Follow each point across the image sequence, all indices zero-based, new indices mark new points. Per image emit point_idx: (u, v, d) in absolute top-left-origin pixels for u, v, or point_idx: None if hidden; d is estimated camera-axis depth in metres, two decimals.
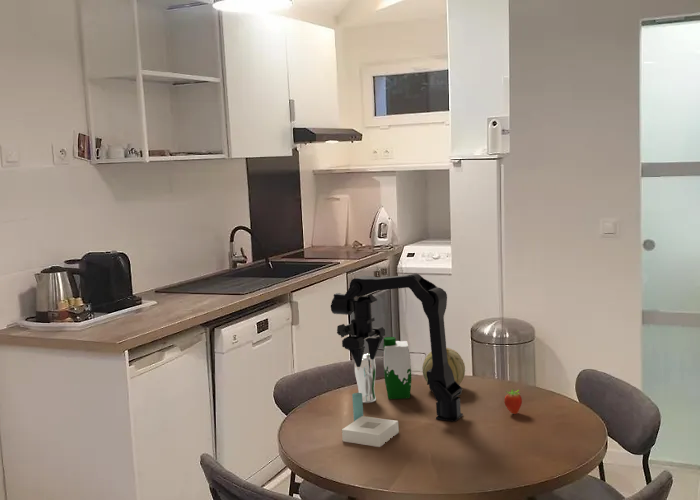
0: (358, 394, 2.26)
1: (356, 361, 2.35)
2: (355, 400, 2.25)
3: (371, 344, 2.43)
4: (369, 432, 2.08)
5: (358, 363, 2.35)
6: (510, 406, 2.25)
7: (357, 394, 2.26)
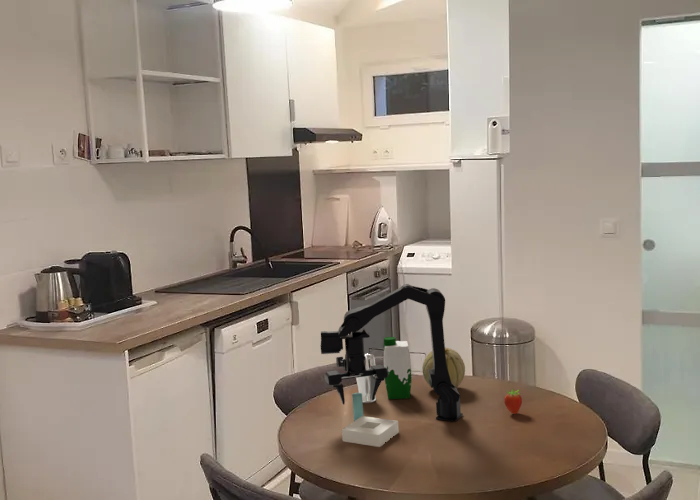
0: (358, 394, 2.26)
1: (340, 398, 2.25)
2: (355, 400, 2.25)
3: (372, 384, 2.27)
4: (369, 432, 2.08)
5: None
6: (510, 406, 2.25)
7: (357, 394, 2.26)
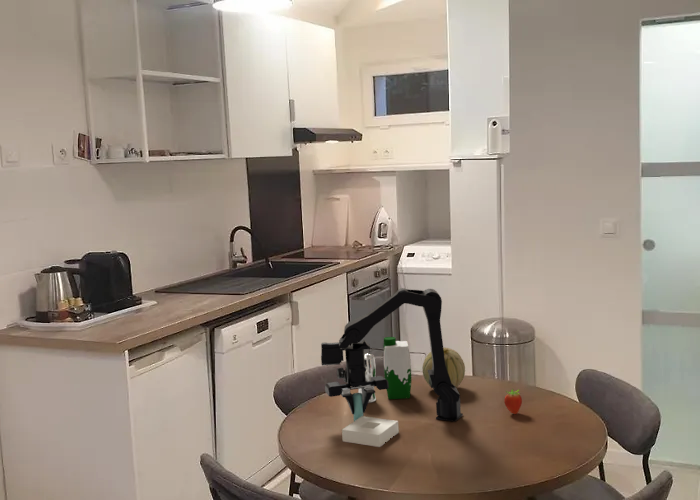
0: (358, 394, 2.26)
1: None
2: (355, 400, 2.25)
3: (363, 396, 2.27)
4: (369, 432, 2.08)
5: (351, 411, 2.26)
6: (510, 406, 2.25)
7: (357, 394, 2.26)
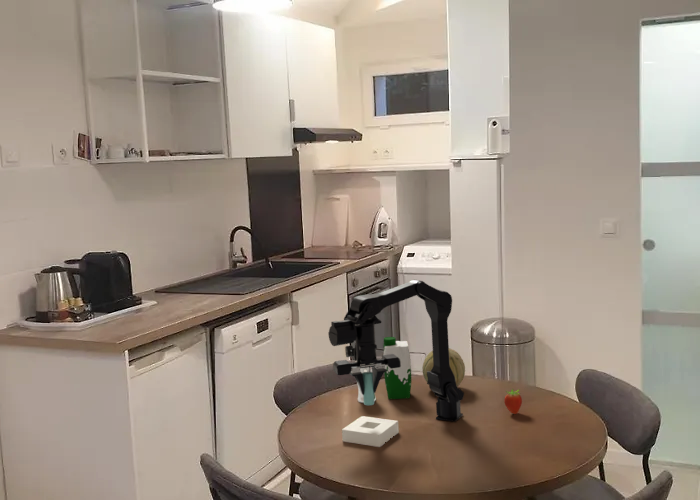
0: (368, 373, 2.13)
1: (359, 387, 2.13)
2: (365, 379, 2.12)
3: (373, 375, 2.13)
4: (369, 432, 2.08)
5: (361, 391, 2.13)
6: (510, 406, 2.25)
7: (367, 373, 2.13)
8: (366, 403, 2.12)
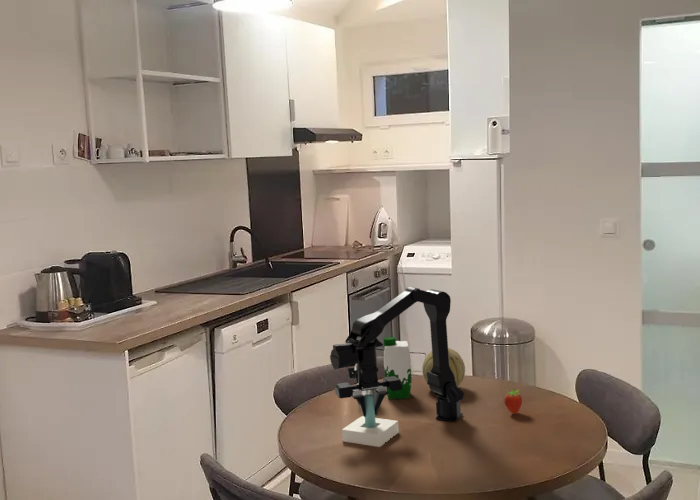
0: (370, 395, 2.13)
1: (361, 410, 2.14)
2: (366, 402, 2.12)
3: (375, 398, 2.14)
4: (369, 432, 2.08)
5: (362, 413, 2.13)
6: (510, 406, 2.25)
7: (369, 395, 2.13)
8: (368, 425, 2.13)
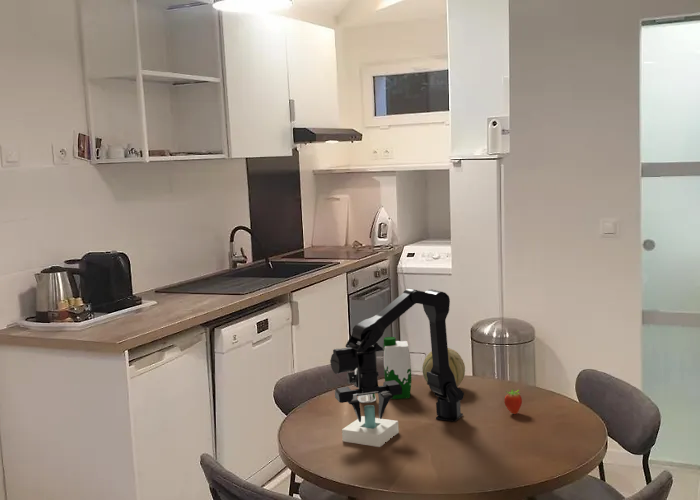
0: (370, 406, 2.14)
1: (356, 415, 2.13)
2: (367, 413, 2.13)
3: (380, 401, 2.15)
4: (369, 432, 2.08)
5: (358, 418, 2.13)
6: (510, 406, 2.25)
7: (370, 406, 2.14)
8: None
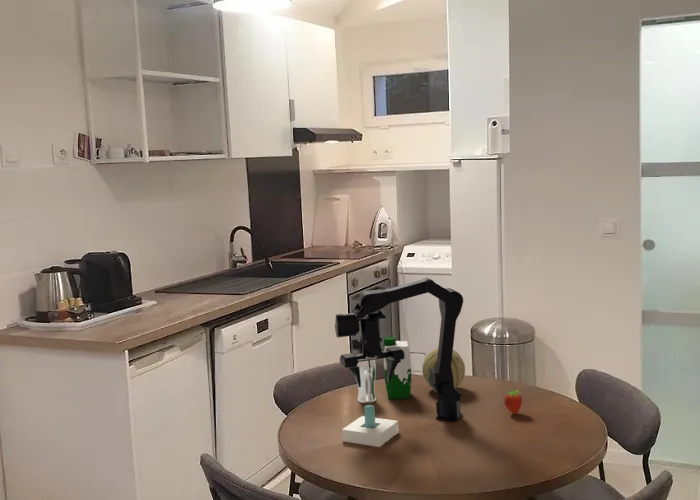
0: (370, 406, 2.13)
1: (356, 381, 2.21)
2: (367, 413, 2.13)
3: (388, 366, 2.23)
4: (369, 432, 2.08)
5: None
6: (510, 406, 2.25)
7: (370, 406, 2.14)
8: None
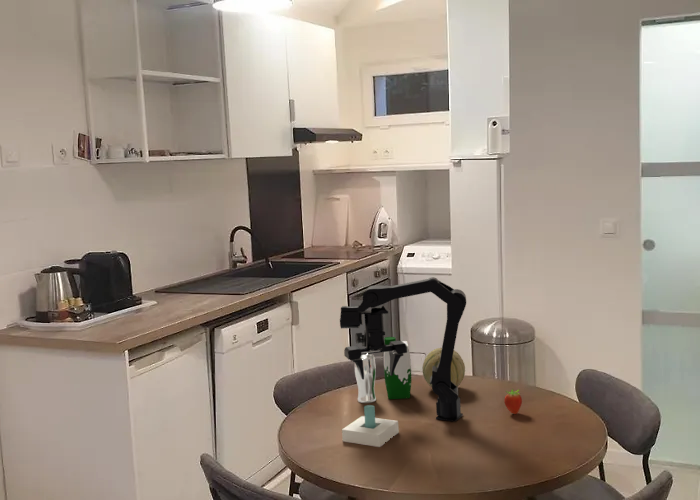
0: (370, 406, 2.14)
1: None
2: (367, 413, 2.13)
3: (391, 359, 2.29)
4: (369, 432, 2.08)
5: (361, 376, 2.27)
6: (510, 406, 2.25)
7: (370, 406, 2.14)
8: None
